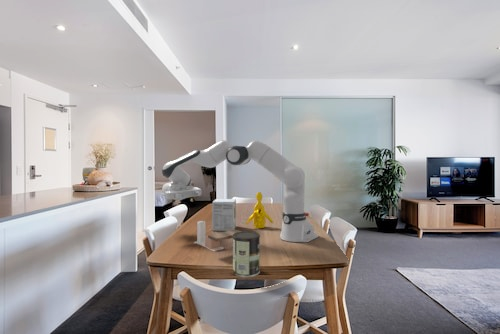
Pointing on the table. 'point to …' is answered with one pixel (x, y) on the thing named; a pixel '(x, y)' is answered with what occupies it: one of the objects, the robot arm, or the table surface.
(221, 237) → the shelf
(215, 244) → the cube
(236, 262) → the coffee can
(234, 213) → the supplement box
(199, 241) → the white pillar stand
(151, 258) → the table surface
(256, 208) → the figure statuette
